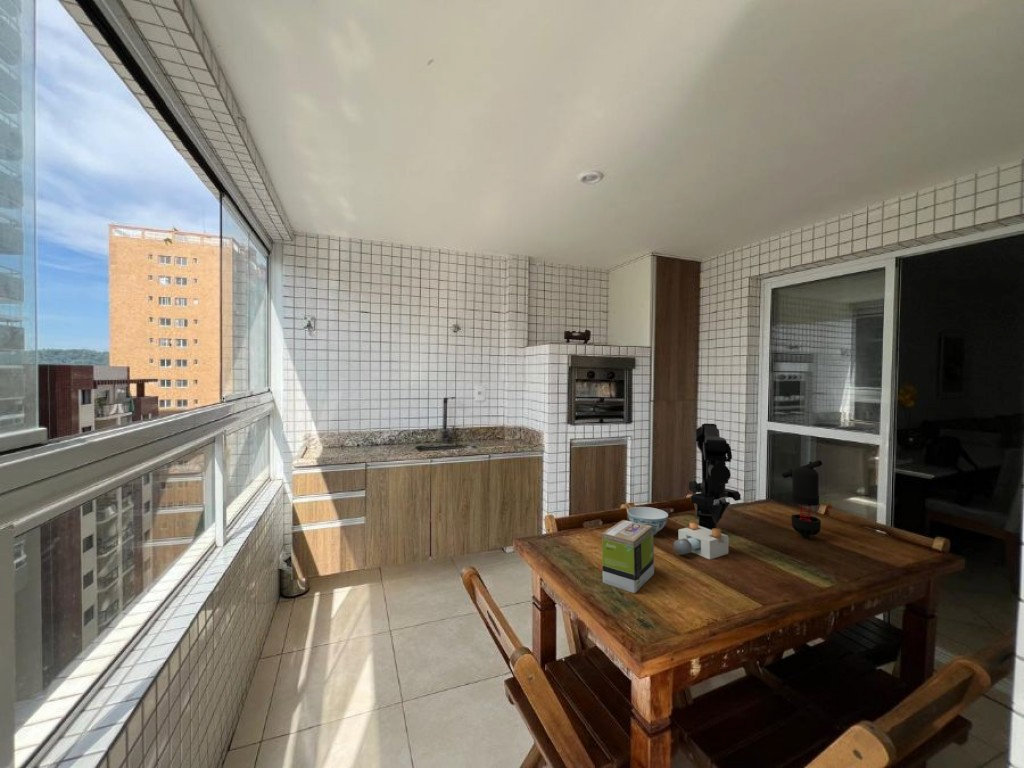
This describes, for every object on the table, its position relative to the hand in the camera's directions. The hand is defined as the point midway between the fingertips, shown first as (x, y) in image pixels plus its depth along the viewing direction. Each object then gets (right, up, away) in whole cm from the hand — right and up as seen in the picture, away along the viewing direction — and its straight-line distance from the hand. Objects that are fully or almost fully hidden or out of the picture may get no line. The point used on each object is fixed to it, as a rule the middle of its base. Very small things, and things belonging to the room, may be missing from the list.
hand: (715, 522), depth 134 cm
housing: (-3, -11, +3) cm, 11 cm away
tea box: (-35, -11, -18) cm, 40 cm away
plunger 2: (0, -5, 0) cm, 5 cm away
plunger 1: (-4, -5, +8) cm, 10 cm away
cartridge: (-6, -10, +1) cm, 12 cm away
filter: (+41, -11, +16) cm, 45 cm away
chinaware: (-16, -11, +20) cm, 28 cm away
